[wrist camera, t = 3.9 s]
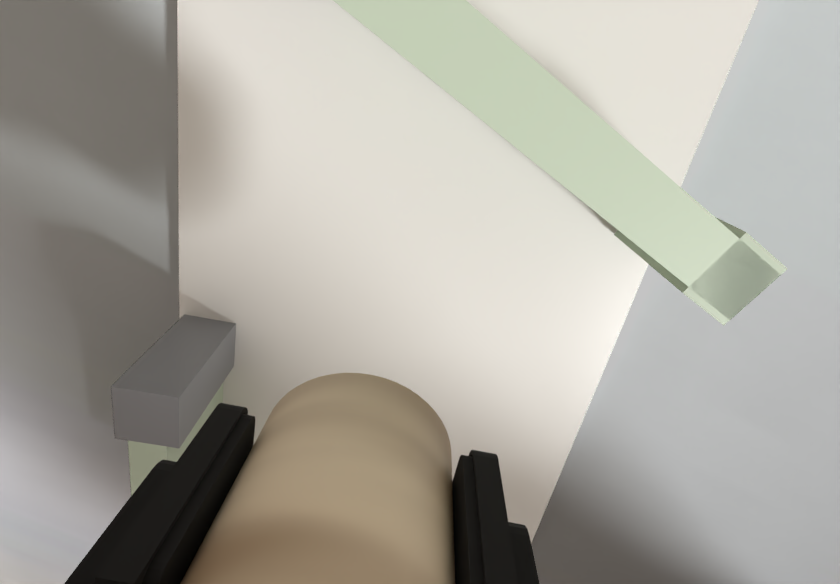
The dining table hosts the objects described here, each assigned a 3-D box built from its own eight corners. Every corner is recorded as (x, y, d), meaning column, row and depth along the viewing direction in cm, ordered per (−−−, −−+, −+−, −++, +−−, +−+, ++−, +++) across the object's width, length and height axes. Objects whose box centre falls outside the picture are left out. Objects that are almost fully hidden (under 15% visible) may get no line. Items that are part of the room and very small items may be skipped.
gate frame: (525, 541, 25) (550, 657, 20) (186, 489, 23) (121, 599, 18) (795, -115, 14) (1003, -223, 9) (186, -273, 13) (30, -500, 8)
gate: (325, 3, 14) (277, -31, 10) (362, -63, 14) (330, -134, 9) (645, 259, 17) (724, 325, 13) (688, 216, 17) (788, 269, 12)
